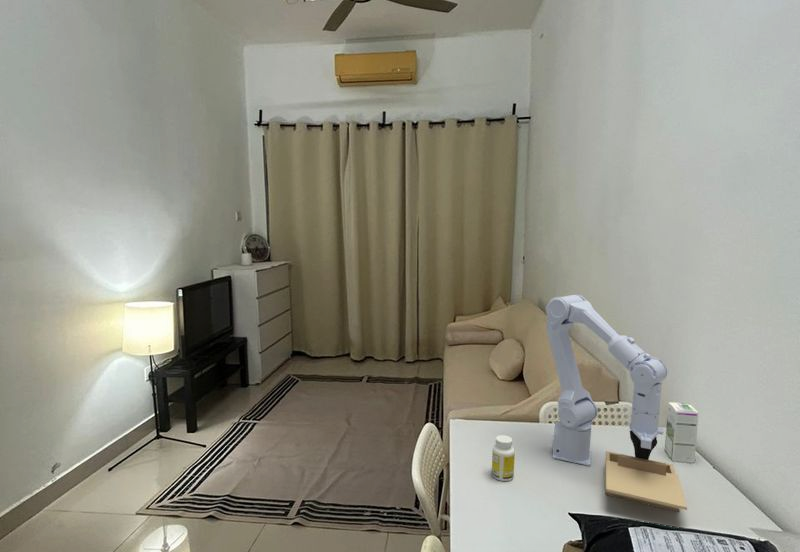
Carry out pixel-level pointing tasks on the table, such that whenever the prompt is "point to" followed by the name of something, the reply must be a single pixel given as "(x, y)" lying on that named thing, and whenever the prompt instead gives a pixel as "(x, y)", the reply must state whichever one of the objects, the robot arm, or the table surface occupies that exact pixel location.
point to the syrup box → (681, 432)
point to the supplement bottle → (503, 459)
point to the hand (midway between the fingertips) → (640, 463)
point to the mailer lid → (644, 481)
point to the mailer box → (614, 457)
